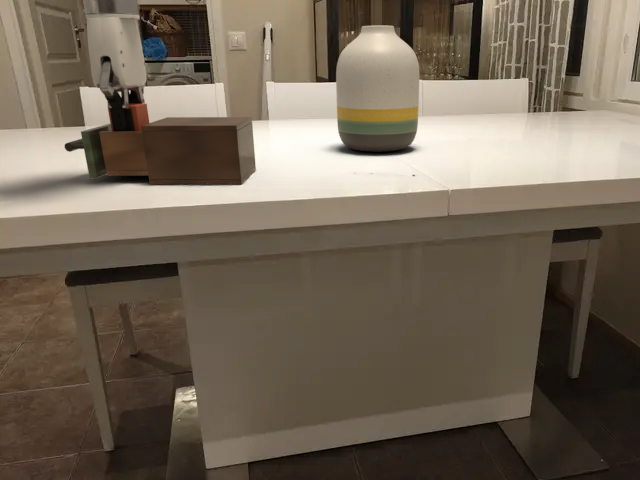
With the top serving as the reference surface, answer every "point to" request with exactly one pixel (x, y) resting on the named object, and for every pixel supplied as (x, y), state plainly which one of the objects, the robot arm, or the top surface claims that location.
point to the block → (136, 115)
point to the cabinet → (199, 150)
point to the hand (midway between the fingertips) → (131, 131)
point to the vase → (377, 91)
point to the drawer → (112, 152)
